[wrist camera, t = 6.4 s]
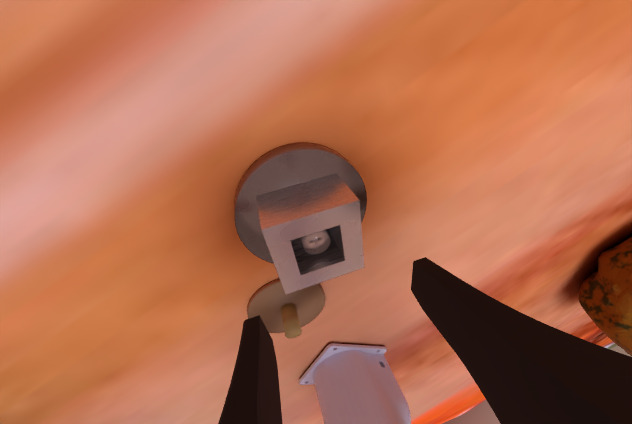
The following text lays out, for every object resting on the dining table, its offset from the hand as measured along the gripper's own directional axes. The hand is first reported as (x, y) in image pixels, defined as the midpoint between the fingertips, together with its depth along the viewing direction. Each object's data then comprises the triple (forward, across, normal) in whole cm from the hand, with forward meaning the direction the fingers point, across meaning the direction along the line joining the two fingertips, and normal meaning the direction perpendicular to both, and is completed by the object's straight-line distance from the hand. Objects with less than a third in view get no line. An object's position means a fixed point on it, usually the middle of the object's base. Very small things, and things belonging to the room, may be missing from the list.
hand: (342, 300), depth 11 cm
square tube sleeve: (+7, 0, 0) cm, 7 cm away
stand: (+9, +3, +10) cm, 14 cm away
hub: (+8, 0, 0) cm, 9 cm away
